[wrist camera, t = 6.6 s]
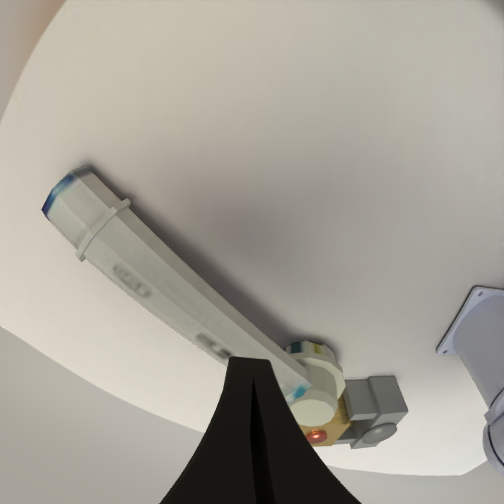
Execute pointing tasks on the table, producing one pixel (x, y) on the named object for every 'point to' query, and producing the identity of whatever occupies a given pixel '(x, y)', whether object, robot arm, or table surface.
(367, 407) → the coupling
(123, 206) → the toothbrush head
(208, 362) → the table surface
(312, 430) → the valve
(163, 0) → the table surface
